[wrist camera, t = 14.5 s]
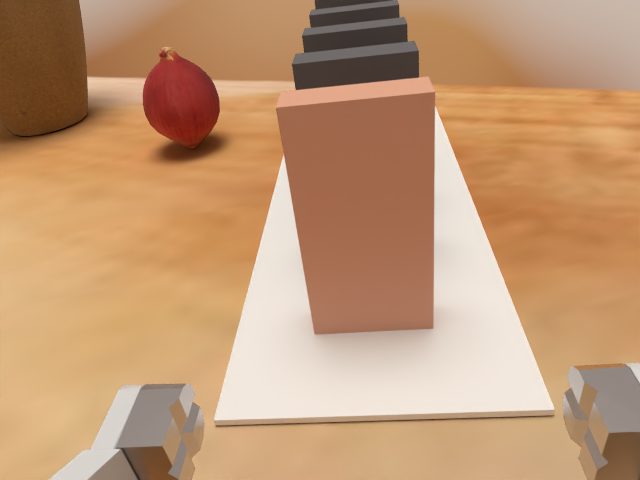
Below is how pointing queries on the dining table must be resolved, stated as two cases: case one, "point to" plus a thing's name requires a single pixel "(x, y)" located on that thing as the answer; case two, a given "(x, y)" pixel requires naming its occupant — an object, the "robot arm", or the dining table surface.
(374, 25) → the domino
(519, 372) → the mat
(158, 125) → the onion
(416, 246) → the terracotta domino
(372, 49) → the domino
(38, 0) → the plant pot
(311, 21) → the domino
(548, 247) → the dining table surface
